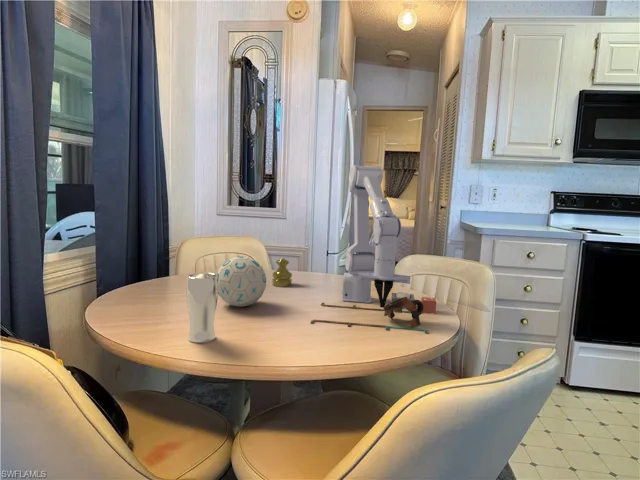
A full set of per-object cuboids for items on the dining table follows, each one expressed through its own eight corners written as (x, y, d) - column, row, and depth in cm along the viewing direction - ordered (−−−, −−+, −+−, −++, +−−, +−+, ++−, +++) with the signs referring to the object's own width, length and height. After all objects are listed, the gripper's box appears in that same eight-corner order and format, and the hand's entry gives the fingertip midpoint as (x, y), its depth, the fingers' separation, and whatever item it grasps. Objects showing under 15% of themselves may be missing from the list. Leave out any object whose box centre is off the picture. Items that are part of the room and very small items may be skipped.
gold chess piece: (280, 281, 159) (281, 256, 158) (295, 284, 154) (296, 258, 153) (267, 284, 153) (268, 258, 152) (282, 288, 149) (283, 261, 147)
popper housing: (391, 307, 128) (392, 297, 128) (391, 301, 135) (391, 292, 135) (414, 309, 127) (414, 299, 127) (412, 303, 134) (413, 294, 134)
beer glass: (190, 333, 98) (190, 272, 97) (219, 333, 99) (220, 272, 97) (183, 343, 92) (183, 278, 90) (214, 344, 92) (215, 279, 91)
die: (421, 313, 124) (422, 299, 123) (420, 309, 128) (421, 296, 127) (435, 314, 123) (436, 300, 123) (433, 310, 127) (434, 297, 126)
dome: (395, 304, 129) (396, 294, 129) (395, 300, 134) (396, 290, 133) (409, 305, 129) (410, 295, 128) (409, 301, 133) (409, 291, 133)
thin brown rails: (310, 323, 109) (310, 322, 109) (321, 303, 130) (322, 302, 130) (428, 333, 105) (428, 332, 105) (421, 311, 125) (421, 310, 125)
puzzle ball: (227, 297, 133) (228, 251, 131) (272, 301, 130) (273, 254, 128) (206, 310, 118) (206, 258, 116) (256, 314, 115) (257, 262, 114)
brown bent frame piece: (407, 333, 106) (393, 304, 107) (386, 338, 114) (373, 311, 115) (437, 315, 112) (423, 288, 113) (415, 321, 120) (403, 295, 121)
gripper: (358, 260, 112) (355, 308, 113) (412, 263, 110) (409, 312, 111) (359, 256, 119) (357, 301, 120) (410, 259, 117) (407, 305, 118)
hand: (382, 306), depth 116 cm, fingers closed
